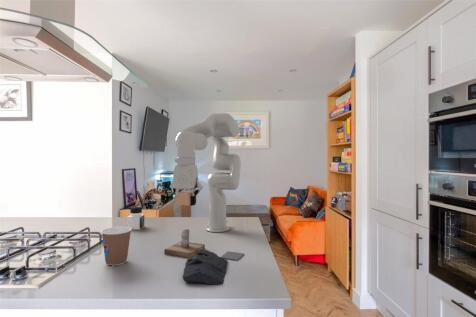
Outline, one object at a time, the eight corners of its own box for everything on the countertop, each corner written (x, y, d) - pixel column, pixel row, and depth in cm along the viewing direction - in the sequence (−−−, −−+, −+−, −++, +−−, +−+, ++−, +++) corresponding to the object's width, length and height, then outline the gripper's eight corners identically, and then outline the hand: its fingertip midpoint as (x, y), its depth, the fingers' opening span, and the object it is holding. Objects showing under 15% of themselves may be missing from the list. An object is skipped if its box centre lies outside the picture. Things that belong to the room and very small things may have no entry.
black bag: (174, 286, 81) (174, 270, 82) (188, 260, 103) (188, 247, 104) (224, 287, 81) (224, 271, 81) (228, 260, 103) (228, 248, 103)
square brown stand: (180, 245, 120) (180, 225, 120) (204, 248, 116) (204, 227, 116) (164, 254, 109) (164, 231, 109) (190, 258, 104) (190, 234, 104)
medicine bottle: (139, 229, 148) (140, 207, 148) (126, 229, 148) (127, 207, 148) (144, 226, 155) (144, 205, 155) (132, 226, 155) (132, 205, 155)
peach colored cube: (175, 204, 111) (175, 192, 111) (183, 202, 117) (183, 190, 117) (188, 205, 109) (188, 193, 109) (196, 203, 114) (195, 191, 114)
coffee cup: (101, 259, 102) (102, 227, 102) (130, 256, 106) (131, 225, 106) (99, 269, 93) (100, 234, 93) (131, 265, 97) (132, 231, 97)
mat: (227, 252, 112) (227, 251, 112) (244, 254, 109) (244, 253, 109) (220, 258, 104) (220, 257, 104) (237, 260, 102) (237, 259, 102)
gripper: (163, 161, 112) (163, 204, 112) (200, 162, 106) (199, 207, 106) (173, 161, 119) (173, 202, 119) (208, 161, 113) (208, 204, 113)
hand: (186, 204), depth 113 cm, fingers closed on peach colored cube, 6 cm apart
